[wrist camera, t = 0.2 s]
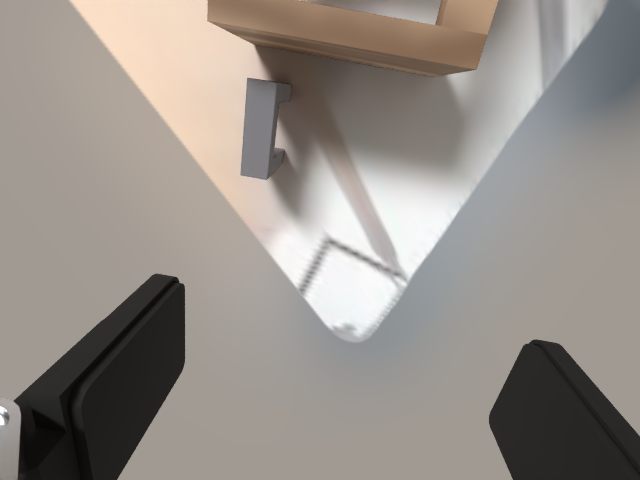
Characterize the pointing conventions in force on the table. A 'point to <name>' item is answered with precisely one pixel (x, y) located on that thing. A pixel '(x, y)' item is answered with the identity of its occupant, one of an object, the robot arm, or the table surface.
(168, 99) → the table surface
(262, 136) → the grey piece
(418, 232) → the table surface
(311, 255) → the table surface
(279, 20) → the stand
